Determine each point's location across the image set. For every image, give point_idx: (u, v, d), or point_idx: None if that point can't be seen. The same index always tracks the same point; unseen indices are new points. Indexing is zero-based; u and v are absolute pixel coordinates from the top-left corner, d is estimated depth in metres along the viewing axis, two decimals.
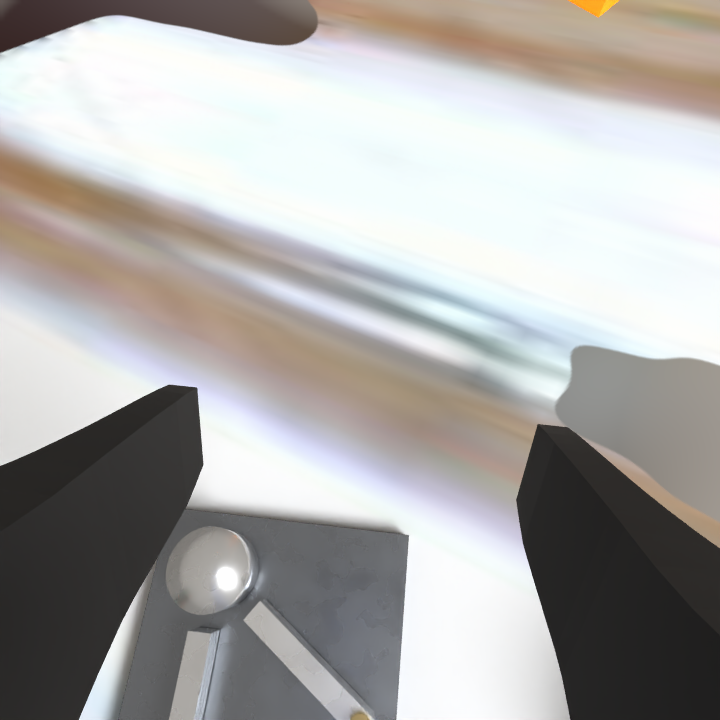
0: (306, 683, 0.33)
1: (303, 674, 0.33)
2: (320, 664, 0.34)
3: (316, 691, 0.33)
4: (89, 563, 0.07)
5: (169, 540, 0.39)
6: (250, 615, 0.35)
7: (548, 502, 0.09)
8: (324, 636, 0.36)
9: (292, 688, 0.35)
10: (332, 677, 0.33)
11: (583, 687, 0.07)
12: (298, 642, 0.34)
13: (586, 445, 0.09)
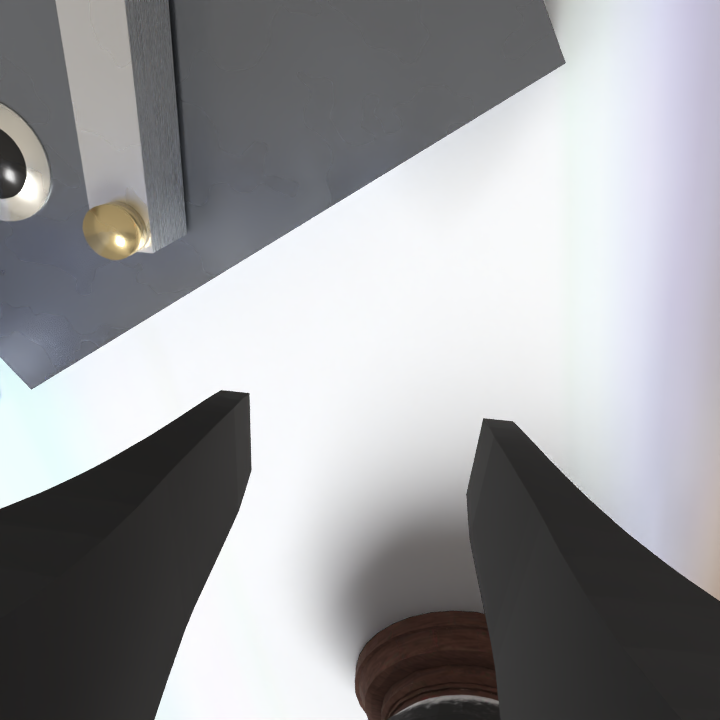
0: (69, 44, 0.12)
1: (75, 19, 0.11)
2: (129, 47, 0.12)
3: (80, 84, 0.12)
4: (163, 572, 0.07)
5: None
6: None
7: (488, 495, 0.09)
8: (211, 25, 0.13)
9: None
10: (134, 101, 0.12)
11: (509, 678, 0.07)
12: None
13: (525, 438, 0.09)
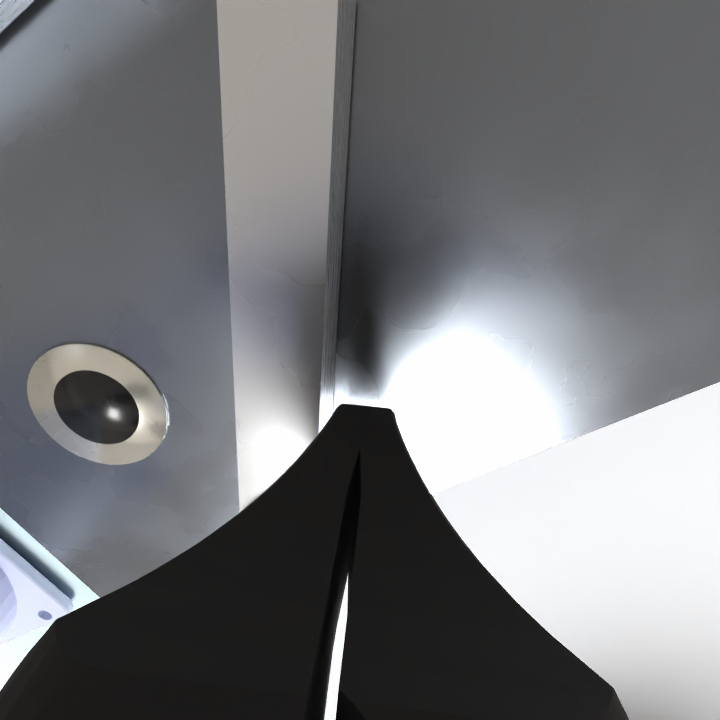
0: (242, 362, 0.09)
1: (255, 338, 0.09)
2: (320, 366, 0.09)
3: (249, 401, 0.09)
4: (335, 593, 0.07)
5: None
6: None
7: None
8: (389, 283, 0.11)
9: (215, 288, 0.11)
10: (316, 418, 0.09)
11: None
12: (322, 257, 0.08)
13: (389, 424, 0.09)
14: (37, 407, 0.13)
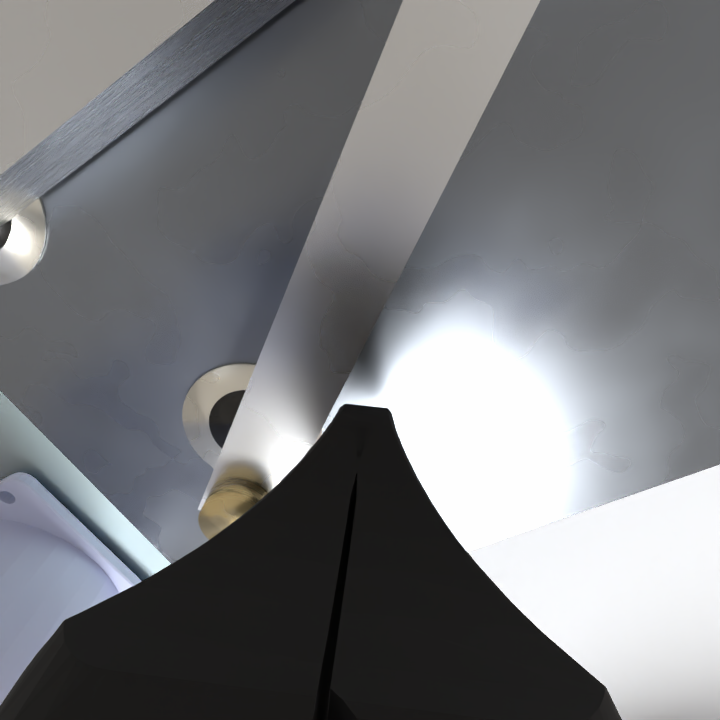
0: (281, 329, 0.09)
1: (304, 310, 0.08)
2: (355, 357, 0.09)
3: (271, 368, 0.09)
4: (340, 593, 0.07)
5: None
6: None
7: None
8: (573, 305, 0.11)
9: (393, 310, 0.11)
10: (330, 405, 0.09)
11: None
12: (405, 257, 0.08)
13: (386, 423, 0.09)
14: (189, 426, 0.13)
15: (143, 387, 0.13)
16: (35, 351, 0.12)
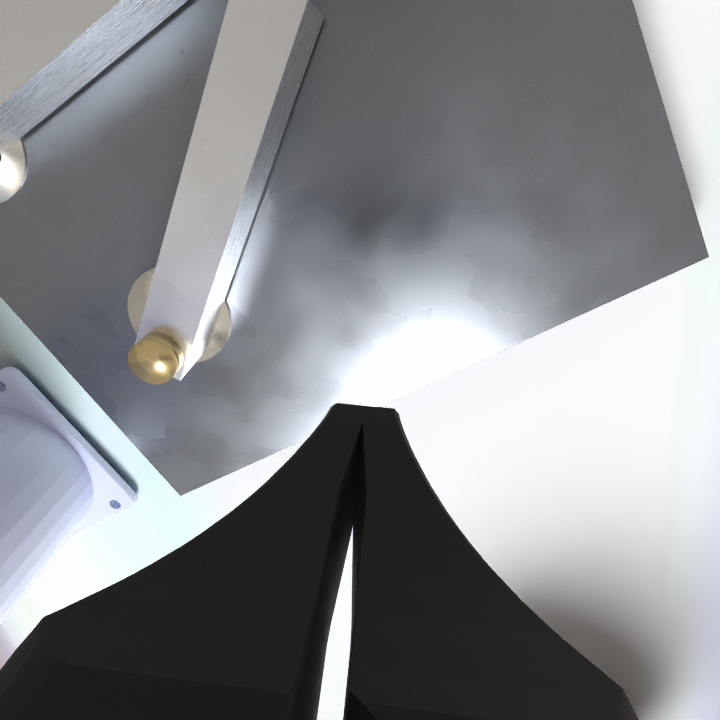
0: (175, 218, 0.13)
1: (189, 204, 0.13)
2: (226, 239, 0.13)
3: (172, 247, 0.14)
4: (328, 592, 0.07)
5: None
6: None
7: (358, 481, 0.09)
8: (396, 218, 0.15)
9: (272, 222, 0.16)
10: (213, 275, 0.14)
11: (349, 658, 0.08)
12: (249, 166, 0.12)
13: (394, 424, 0.09)
14: (133, 316, 0.17)
15: (98, 285, 0.17)
16: (19, 257, 0.17)
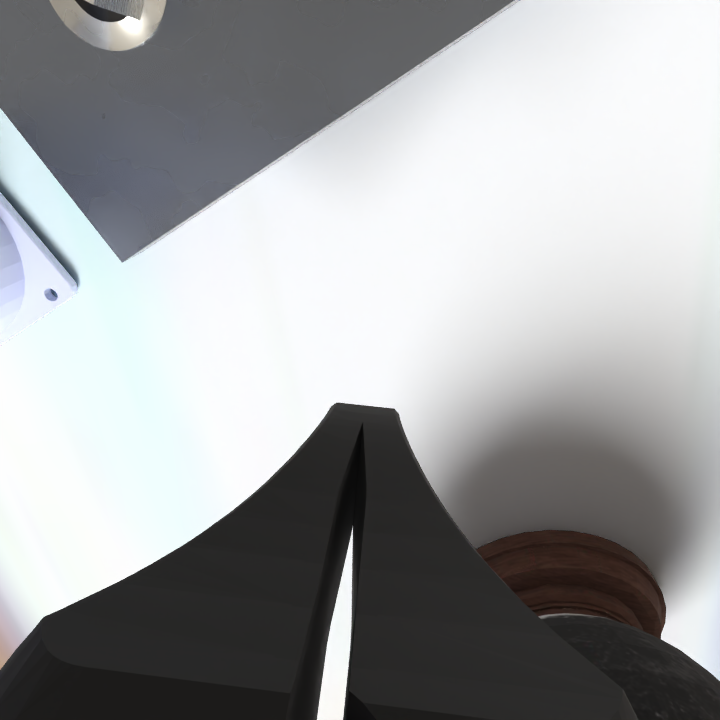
0: None
1: None
2: None
3: None
4: (328, 592, 0.07)
5: None
6: None
7: (358, 481, 0.09)
8: None
9: None
10: None
11: (349, 658, 0.08)
12: None
13: (394, 424, 0.09)
14: None
15: None
16: None
